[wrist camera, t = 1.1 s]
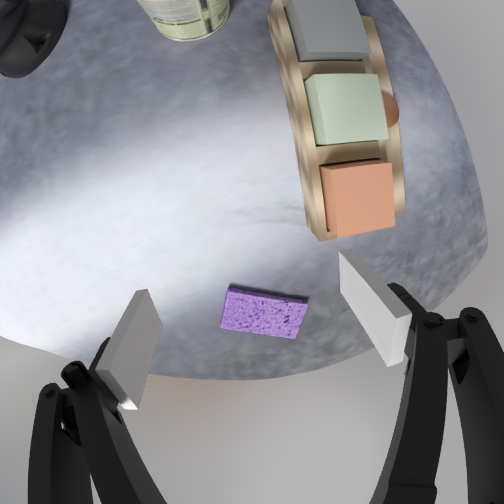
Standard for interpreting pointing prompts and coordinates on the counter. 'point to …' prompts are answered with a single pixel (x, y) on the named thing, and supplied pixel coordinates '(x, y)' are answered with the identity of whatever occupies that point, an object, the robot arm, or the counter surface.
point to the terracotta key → (357, 196)
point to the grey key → (327, 30)
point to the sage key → (346, 108)
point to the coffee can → (187, 17)
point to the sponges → (262, 313)
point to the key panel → (302, 126)
